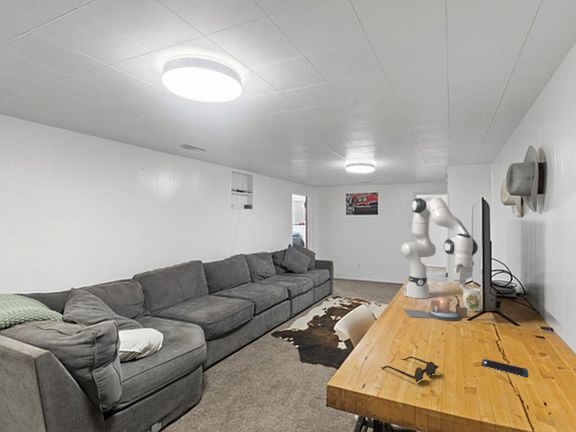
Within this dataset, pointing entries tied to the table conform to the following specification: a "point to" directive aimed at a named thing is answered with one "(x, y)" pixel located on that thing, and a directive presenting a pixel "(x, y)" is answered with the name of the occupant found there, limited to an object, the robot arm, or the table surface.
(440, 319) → the base plate
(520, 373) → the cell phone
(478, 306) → the pitcher
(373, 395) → the table surface
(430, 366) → the eyeglasses
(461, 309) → the turntable
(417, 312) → the mat
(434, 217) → the robot arm
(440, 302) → the jug
